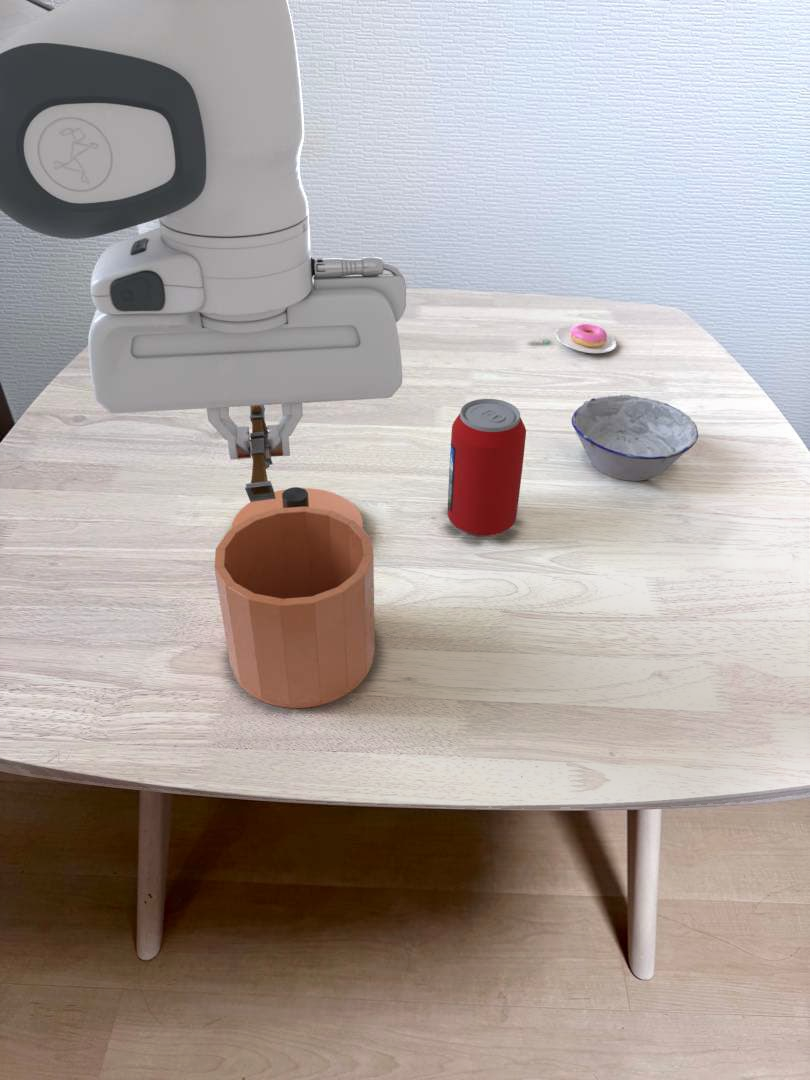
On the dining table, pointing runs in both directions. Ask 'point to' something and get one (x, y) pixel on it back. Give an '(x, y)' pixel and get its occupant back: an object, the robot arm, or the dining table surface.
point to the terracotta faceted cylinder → (297, 605)
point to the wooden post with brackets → (259, 458)
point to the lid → (301, 504)
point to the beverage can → (485, 467)
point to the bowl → (633, 435)
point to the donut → (586, 338)
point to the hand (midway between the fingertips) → (260, 453)
